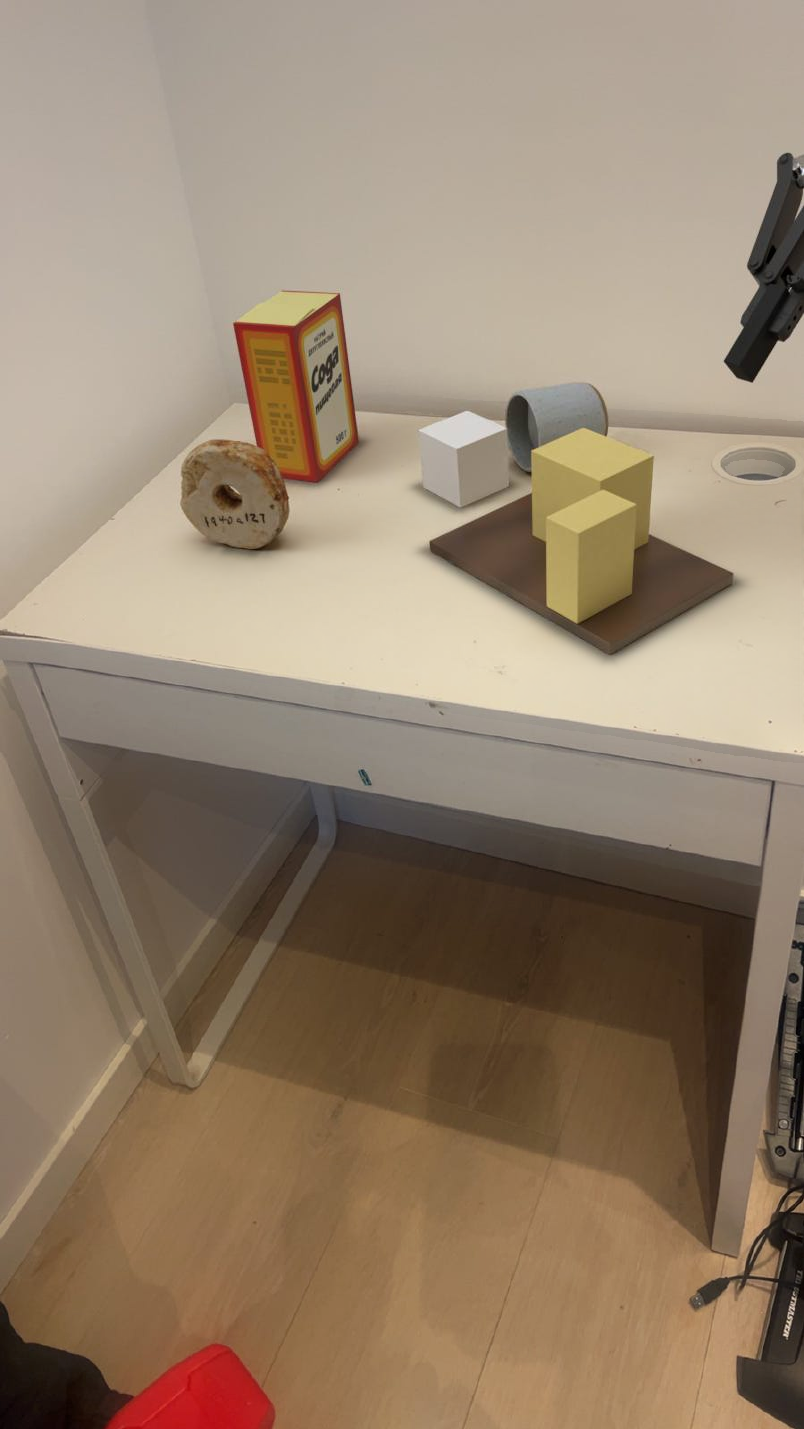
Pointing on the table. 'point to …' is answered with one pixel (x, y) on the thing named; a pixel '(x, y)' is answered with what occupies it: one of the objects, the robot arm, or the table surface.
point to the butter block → (589, 477)
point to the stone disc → (234, 493)
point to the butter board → (518, 569)
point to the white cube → (464, 458)
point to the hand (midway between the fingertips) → (738, 371)
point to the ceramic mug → (551, 417)
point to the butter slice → (590, 555)
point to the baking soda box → (298, 381)
